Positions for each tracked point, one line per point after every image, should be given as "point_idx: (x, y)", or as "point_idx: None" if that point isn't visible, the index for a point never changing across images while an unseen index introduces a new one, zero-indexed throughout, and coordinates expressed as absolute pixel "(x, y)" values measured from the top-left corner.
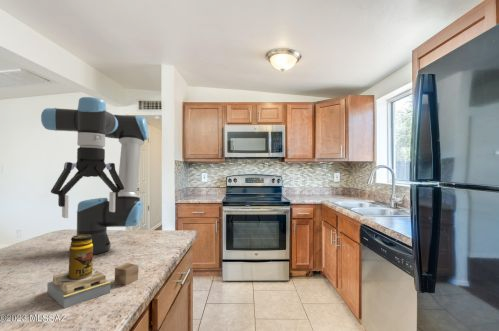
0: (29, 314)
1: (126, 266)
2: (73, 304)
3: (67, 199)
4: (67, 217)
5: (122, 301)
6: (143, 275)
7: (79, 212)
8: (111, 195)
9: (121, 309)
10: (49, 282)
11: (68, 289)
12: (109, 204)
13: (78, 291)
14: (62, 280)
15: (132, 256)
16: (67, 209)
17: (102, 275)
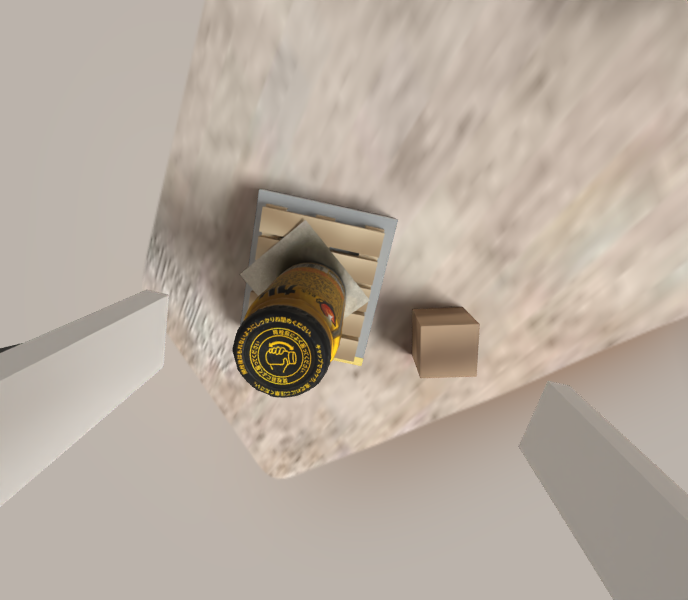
0: (188, 284)
1: (448, 350)
2: None
3: (2, 493)
4: (156, 369)
5: (342, 416)
6: (496, 342)
7: None
8: (661, 588)
9: (315, 442)
10: (262, 195)
11: None
12: (588, 429)
13: None
14: (256, 284)
15: (667, 130)
16: (108, 406)
17: (349, 351)
